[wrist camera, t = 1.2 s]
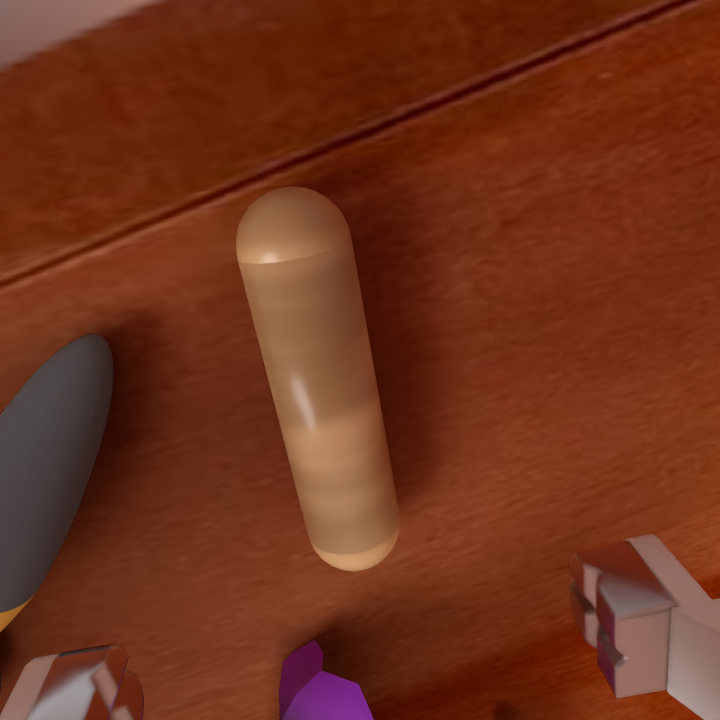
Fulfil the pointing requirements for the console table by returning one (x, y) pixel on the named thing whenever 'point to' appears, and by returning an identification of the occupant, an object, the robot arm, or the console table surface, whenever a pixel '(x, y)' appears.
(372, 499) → the stick
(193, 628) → the console table surface
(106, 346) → the paintbrush
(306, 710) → the flower
